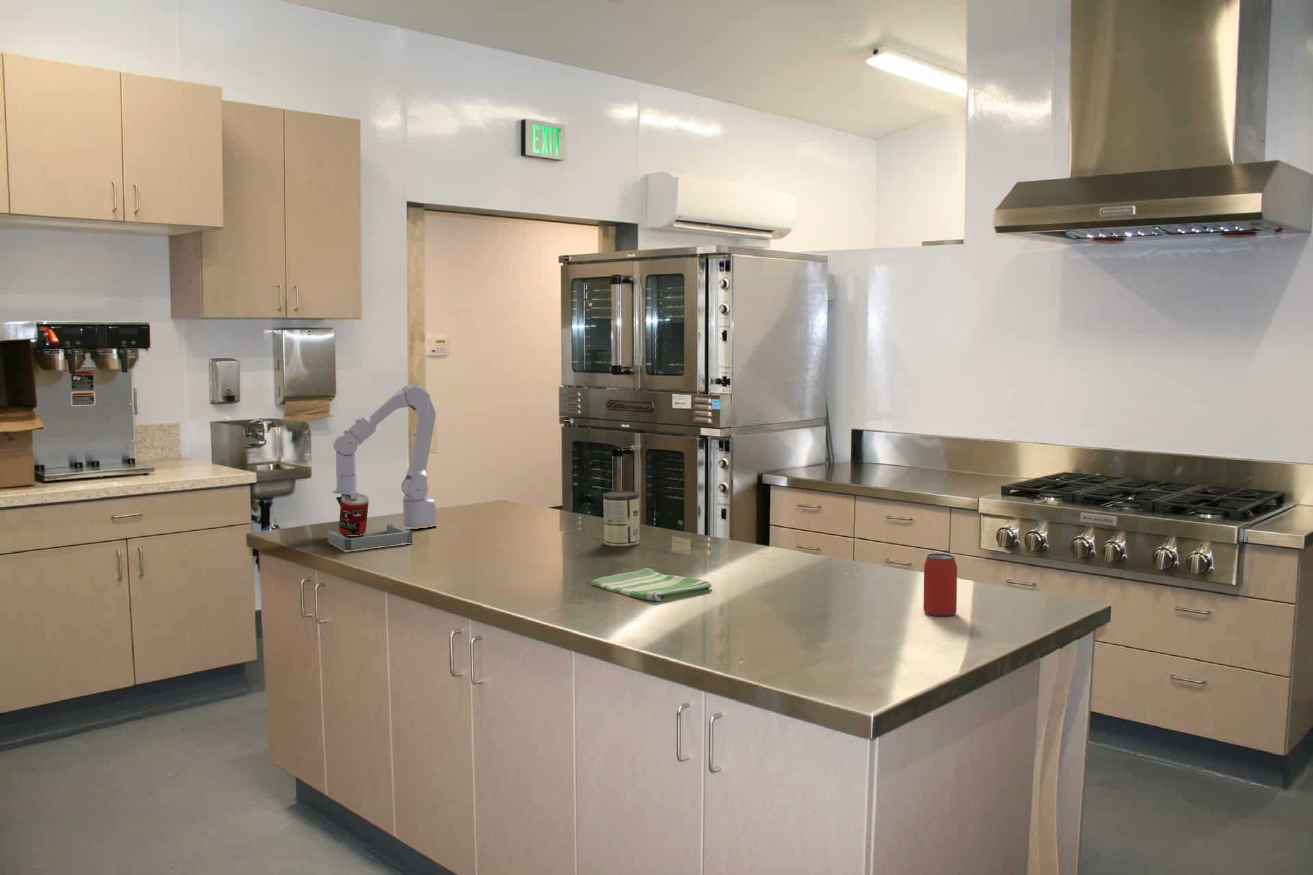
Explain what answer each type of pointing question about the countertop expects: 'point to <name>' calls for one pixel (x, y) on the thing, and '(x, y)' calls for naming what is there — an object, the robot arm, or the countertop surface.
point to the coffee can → (621, 518)
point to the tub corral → (372, 539)
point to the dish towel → (652, 585)
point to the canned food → (353, 515)
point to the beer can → (940, 585)
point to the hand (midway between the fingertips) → (348, 519)
